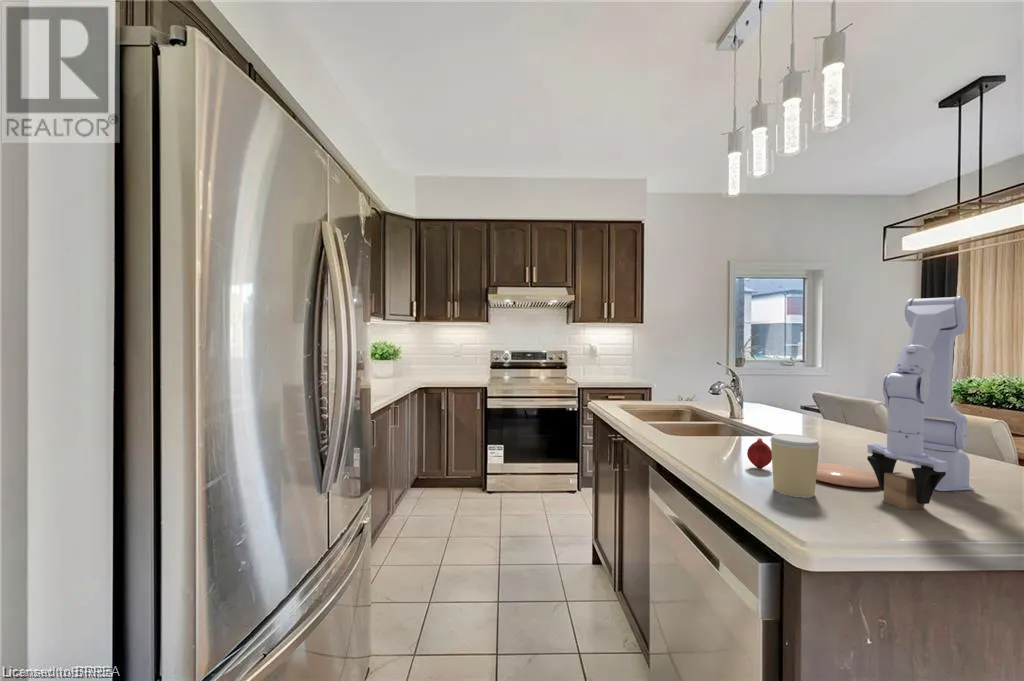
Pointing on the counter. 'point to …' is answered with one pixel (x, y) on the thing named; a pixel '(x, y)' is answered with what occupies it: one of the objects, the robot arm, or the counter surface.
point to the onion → (759, 454)
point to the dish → (846, 475)
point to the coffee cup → (794, 464)
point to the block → (900, 490)
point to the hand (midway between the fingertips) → (903, 496)
